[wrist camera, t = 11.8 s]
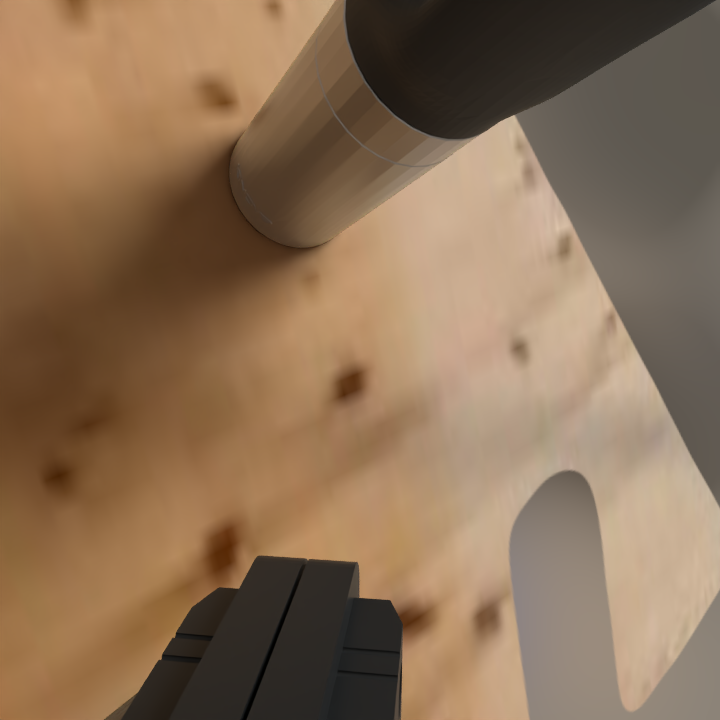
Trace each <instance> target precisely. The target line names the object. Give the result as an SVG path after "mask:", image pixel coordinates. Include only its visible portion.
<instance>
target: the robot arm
mask: <svg viewBox="0 0 720 720" xmlns="http://www.w3.org/2000/svg"><path fill="white" fill-rule="evenodd" d="M714 1H715V0H336V1H335V2H334V4H333V5H332V6H331V8H330V9H329V11H328V13H327V14H326V16H325V17H324V18H323V20H322V21H321V23H320V24H319V26H318V27H317V29H316V30H315V31H314V33H313V34H312V36H311V37H310V39H309V40H308V41H307V43H306V44H305V46H304V47H303V49H302V50H301V52H300V53H299V54H298V56H297V57H296V59H295V60H294V62H293V63H292V64H291V66H290V67H289V69H288V70H287V72H286V73H285V75H284V76H283V77H282V79H281V80H280V82H279V83H278V85H277V86H276V87H275V89H274V90H273V92H272V93H271V95H270V96H269V98H268V99H267V100H266V102H265V103H264V105H263V106H262V108H261V109H260V110H259V112H258V113H257V114H256V116H255V117H254V119H253V120H252V122H251V123H250V125H249V126H248V127H247V129H246V130H245V132H244V133H243V135H242V136H241V138H240V139H239V140H238V142H237V144H236V146H235V148H234V150H233V152H232V155H231V160H230V165H229V180H230V185H231V189H232V193H233V196H234V198H235V201H236V203H237V205H238V207H239V209H240V210H241V212H242V213H243V215H244V216H245V218H246V219H247V220H248V221H249V222H250V223H251V224H252V225H253V226H254V227H255V228H256V229H257V230H258V231H259V232H260V233H262V234H263V235H265V236H266V237H268V238H269V239H271V240H273V241H275V242H278V243H280V244H282V245H286V246H291V247H295V248H309V247H313V246H317V245H321V244H323V243H325V242H327V241H329V240H331V239H332V238H334V237H335V236H337V235H338V234H339V233H341V232H342V231H344V230H345V229H347V228H348V227H349V226H351V225H352V224H354V223H355V222H357V221H358V220H360V219H361V218H363V217H364V216H365V215H367V214H368V213H370V212H371V211H373V210H374V209H375V208H377V207H378V206H380V205H381V204H383V203H384V202H385V201H387V200H388V199H390V198H391V197H392V196H394V195H395V194H397V193H398V192H400V191H401V190H402V189H404V188H405V187H407V186H408V185H410V184H411V183H412V182H414V181H415V180H417V179H418V178H419V177H421V176H422V175H424V174H425V173H427V172H428V171H429V170H431V169H432V168H434V167H435V166H437V165H438V164H439V163H441V162H442V161H444V160H445V159H447V158H448V157H449V156H451V155H452V154H453V153H455V152H456V151H457V150H459V149H460V148H462V147H463V146H465V145H466V144H467V143H469V142H470V141H472V140H473V139H475V138H476V137H477V136H479V135H480V134H482V133H483V132H485V131H487V130H488V129H490V128H491V127H492V126H494V125H495V124H497V123H498V122H500V121H502V120H504V119H506V118H508V117H510V116H513V115H515V114H517V113H520V112H522V111H524V110H527V109H529V108H531V107H533V106H536V105H538V104H540V103H542V102H544V101H546V100H549V99H551V98H553V97H554V96H556V95H558V94H560V93H561V92H563V91H565V90H566V89H568V88H570V87H571V86H573V85H575V84H577V83H578V82H580V81H581V80H583V79H584V78H586V77H588V76H589V75H591V74H593V73H594V72H596V71H597V70H599V69H601V68H602V67H604V66H606V65H607V64H609V63H611V62H612V61H614V60H616V59H617V58H619V57H621V56H622V55H624V54H626V53H627V52H629V51H631V50H632V49H634V48H636V47H638V46H639V45H641V44H643V43H644V42H646V41H648V40H649V39H651V38H653V37H655V36H656V35H658V34H660V33H662V32H663V31H665V30H667V29H668V28H670V27H672V26H674V25H676V24H677V23H679V22H680V21H682V20H684V19H686V18H688V17H689V16H691V15H693V14H695V13H696V12H698V11H699V10H701V9H703V8H704V7H706V6H707V5H709V4H711V3H712V2H714ZM402 641H403V624H402V622H401V620H400V618H399V616H398V614H397V612H396V610H395V608H394V607H393V605H392V603H391V601H390V600H379V599H365V598H359V565H358V563H357V562H345V561H331V560H316V559H309V560H307V559H304V558H289V557H274V556H257V557H256V559H255V560H254V562H253V564H252V566H251V568H250V570H249V571H248V573H247V575H246V577H245V579H244V581H243V582H242V584H241V586H240V588H239V589H233V588H220V587H219V588H217V589H216V590H215V591H213V592H212V593H211V594H209V595H208V596H207V597H205V598H204V599H203V600H201V601H200V602H199V603H197V604H196V605H195V606H193V607H192V608H191V610H190V611H189V613H188V614H187V616H186V618H185V619H184V621H183V622H182V624H181V626H180V627H179V629H178V630H177V632H176V636H175V638H172V640H171V641H170V643H169V644H168V646H167V648H166V649H165V651H164V652H163V654H162V659H161V660H158V662H157V663H156V665H155V667H154V668H153V670H152V671H151V673H150V674H149V676H148V678H147V679H146V681H145V682H144V684H143V685H142V687H141V689H140V690H139V692H138V693H137V695H136V697H135V698H134V700H133V701H132V703H131V704H130V706H129V708H128V709H127V711H126V712H125V714H124V715H123V717H122V719H121V720H401V693H402Z"/></svg>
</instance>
